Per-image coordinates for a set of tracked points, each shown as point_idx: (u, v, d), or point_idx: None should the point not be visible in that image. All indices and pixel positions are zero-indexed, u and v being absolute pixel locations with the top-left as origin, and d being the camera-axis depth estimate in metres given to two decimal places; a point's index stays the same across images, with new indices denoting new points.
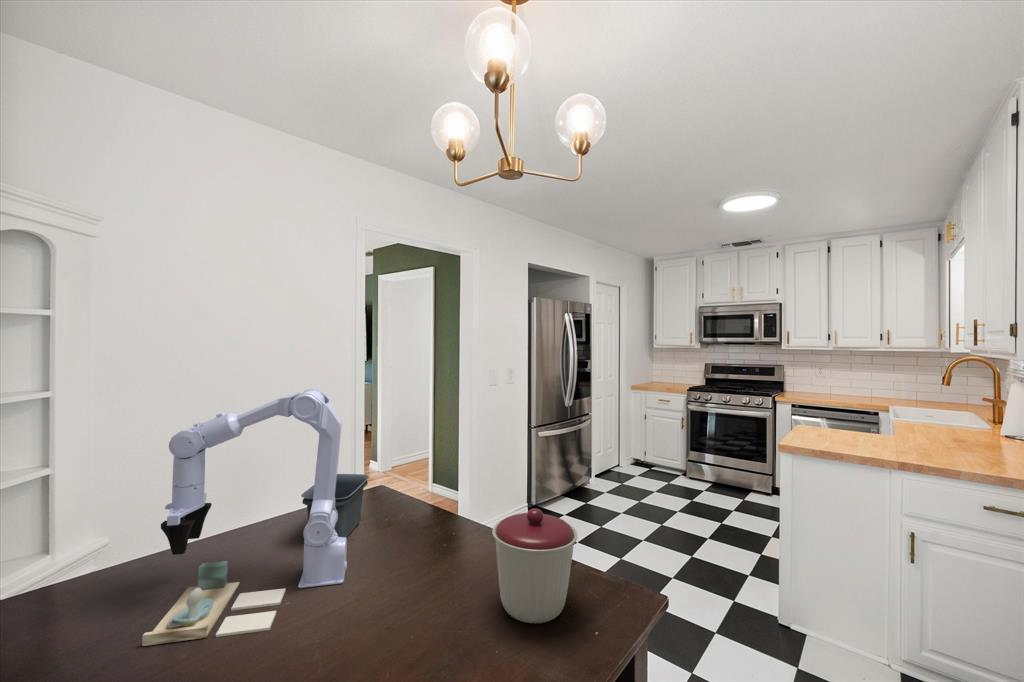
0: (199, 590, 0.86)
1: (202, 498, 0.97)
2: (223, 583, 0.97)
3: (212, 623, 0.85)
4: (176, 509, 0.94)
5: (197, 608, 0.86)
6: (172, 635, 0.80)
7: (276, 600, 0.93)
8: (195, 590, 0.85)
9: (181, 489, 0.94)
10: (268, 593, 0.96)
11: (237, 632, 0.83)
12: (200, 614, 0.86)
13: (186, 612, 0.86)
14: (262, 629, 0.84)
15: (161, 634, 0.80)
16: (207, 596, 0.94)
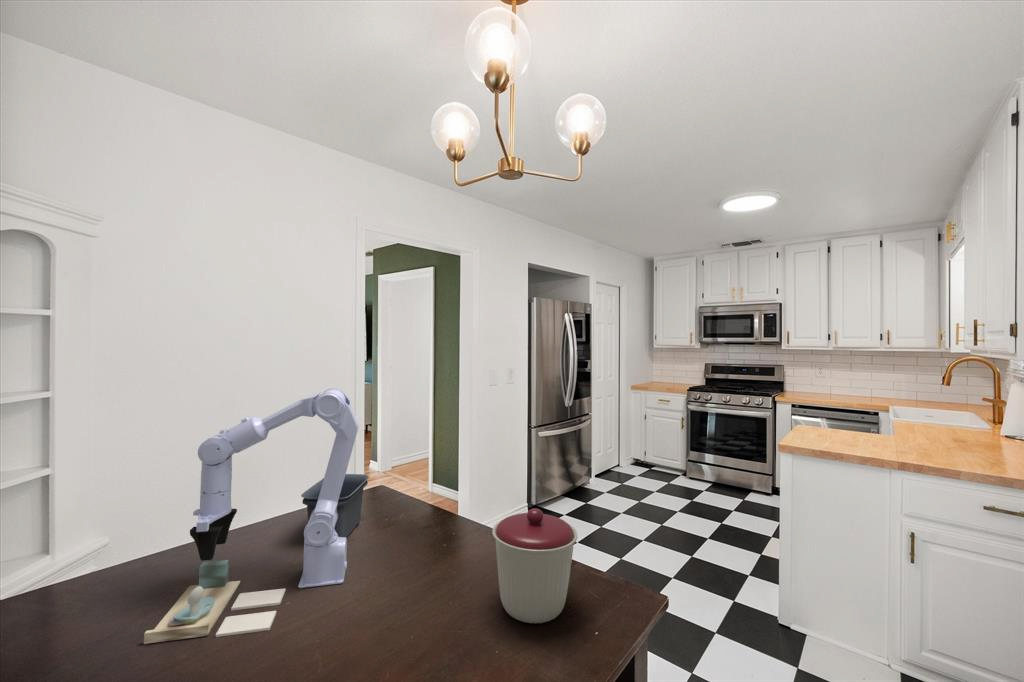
0: (200, 588, 0.86)
1: (229, 504, 0.98)
2: (224, 582, 0.98)
3: (213, 621, 0.86)
4: (204, 515, 0.95)
5: (198, 606, 0.87)
6: (173, 633, 0.81)
7: (276, 600, 0.93)
8: (196, 588, 0.86)
9: (209, 495, 0.95)
10: (268, 593, 0.96)
11: (237, 632, 0.83)
12: (201, 612, 0.87)
13: (187, 610, 0.87)
14: (262, 629, 0.84)
15: (163, 632, 0.80)
16: (208, 595, 0.94)
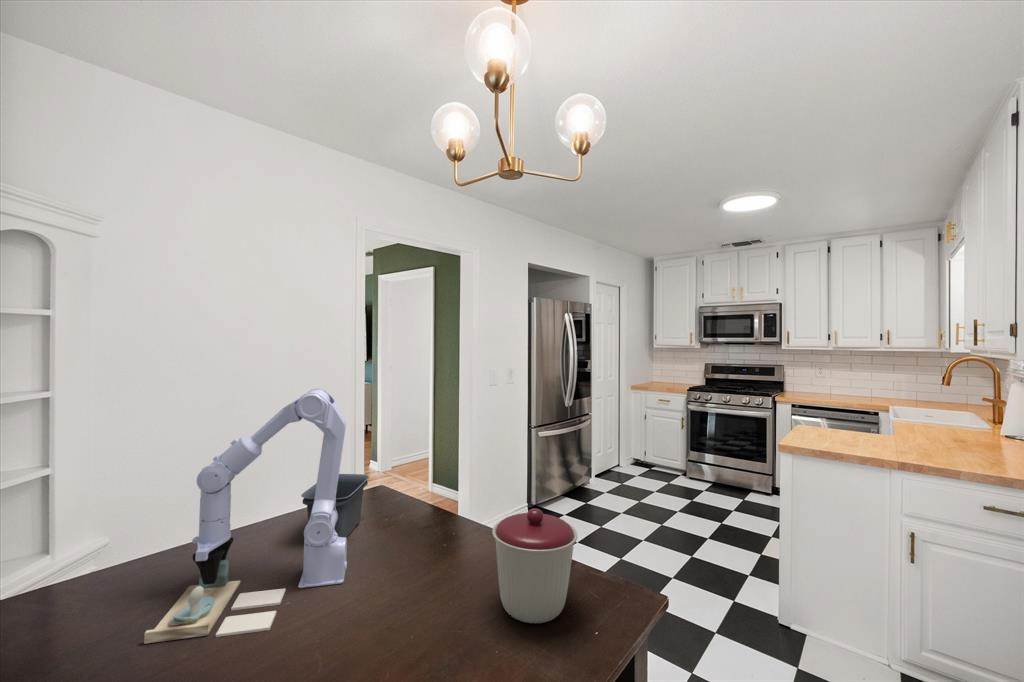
0: (200, 588, 0.86)
1: (228, 531, 0.98)
2: (224, 581, 0.98)
3: (213, 621, 0.86)
4: (203, 543, 0.95)
5: (198, 606, 0.87)
6: (174, 633, 0.81)
7: (276, 600, 0.93)
8: (197, 588, 0.86)
9: (208, 523, 0.95)
10: (268, 593, 0.96)
11: (237, 632, 0.83)
12: (201, 612, 0.87)
13: (187, 610, 0.87)
14: (262, 629, 0.84)
15: (163, 632, 0.80)
16: (208, 594, 0.94)
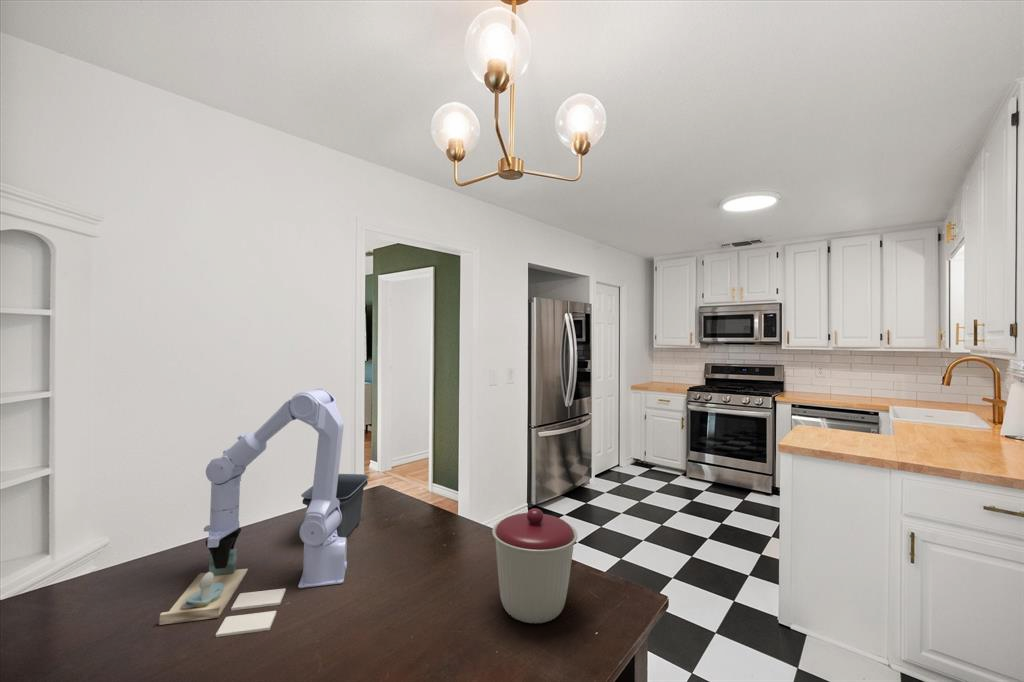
0: (211, 574, 0.92)
1: (237, 520, 1.04)
2: (232, 569, 1.03)
3: (223, 605, 0.91)
4: (214, 531, 1.01)
5: (209, 591, 0.92)
6: (187, 615, 0.86)
7: (276, 600, 0.93)
8: (207, 574, 0.91)
9: (219, 513, 1.01)
10: (268, 593, 0.96)
11: (237, 632, 0.83)
12: (212, 597, 0.92)
13: (199, 595, 0.92)
14: (262, 629, 0.84)
15: (177, 614, 0.86)
16: (218, 581, 1.00)
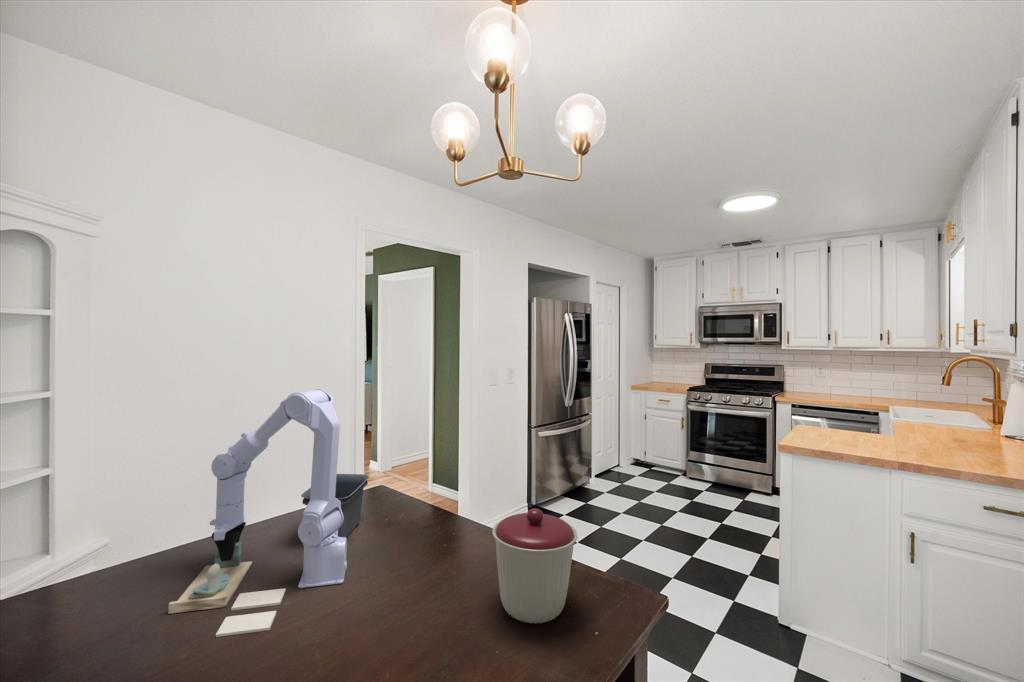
0: (217, 565, 0.95)
1: (242, 515, 1.08)
2: (238, 562, 1.07)
3: (230, 595, 0.94)
4: (220, 525, 1.04)
5: (215, 582, 0.95)
6: (195, 604, 0.90)
7: (276, 600, 0.93)
8: (214, 565, 0.95)
9: (224, 507, 1.04)
10: (268, 593, 0.96)
11: (237, 632, 0.83)
12: (218, 587, 0.96)
13: (205, 585, 0.96)
14: (262, 629, 0.84)
15: (185, 603, 0.89)
16: (223, 573, 1.03)
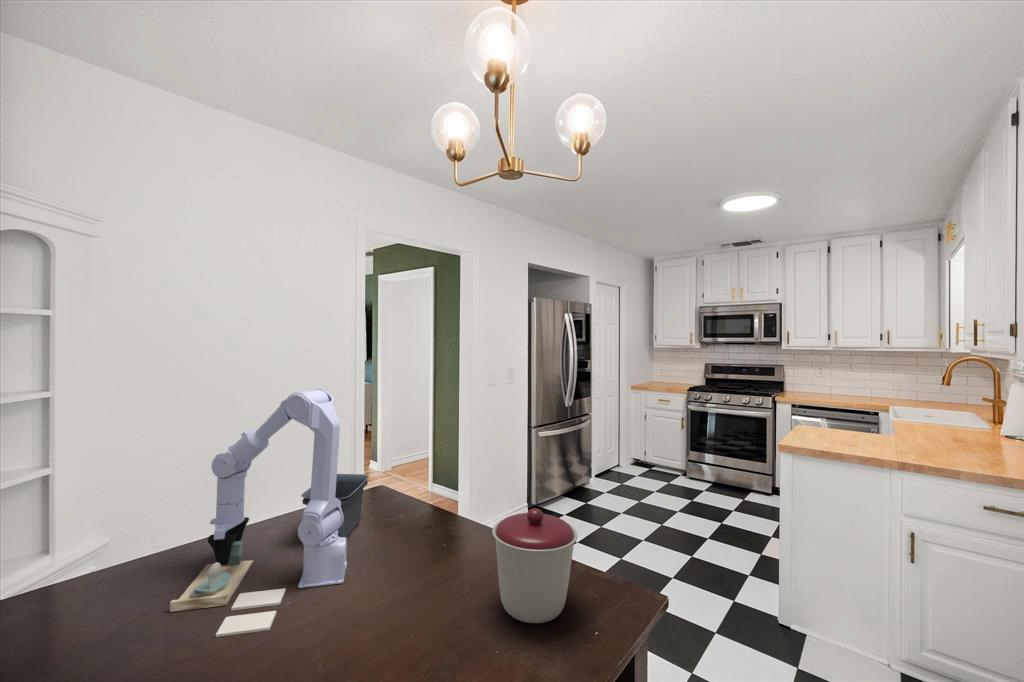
0: (218, 564, 0.96)
1: (242, 514, 1.08)
2: (238, 560, 1.07)
3: (230, 593, 0.95)
4: (220, 524, 1.04)
5: (216, 580, 0.96)
6: (196, 602, 0.90)
7: (276, 600, 0.93)
8: (215, 564, 0.95)
9: (225, 506, 1.04)
10: (268, 593, 0.96)
11: (237, 632, 0.83)
12: (219, 586, 0.96)
13: (206, 584, 0.96)
14: (262, 629, 0.84)
15: (186, 601, 0.90)
16: (224, 571, 1.04)
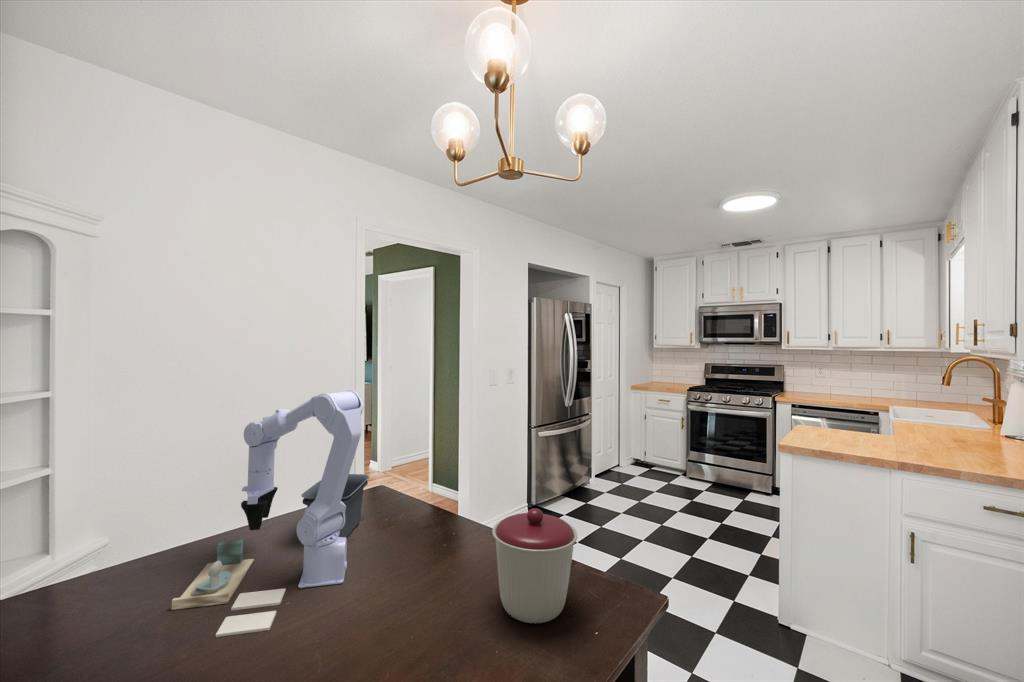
0: (219, 563, 0.97)
1: (272, 482, 1.11)
2: (239, 559, 1.08)
3: (232, 592, 0.96)
4: (252, 491, 1.08)
5: (217, 579, 0.97)
6: (197, 600, 0.91)
7: (276, 600, 0.93)
8: (216, 562, 0.96)
9: (256, 473, 1.08)
10: (268, 593, 0.96)
11: (237, 632, 0.83)
12: (220, 584, 0.97)
13: (208, 582, 0.97)
14: (262, 629, 0.84)
15: (188, 599, 0.90)
16: (225, 570, 1.05)
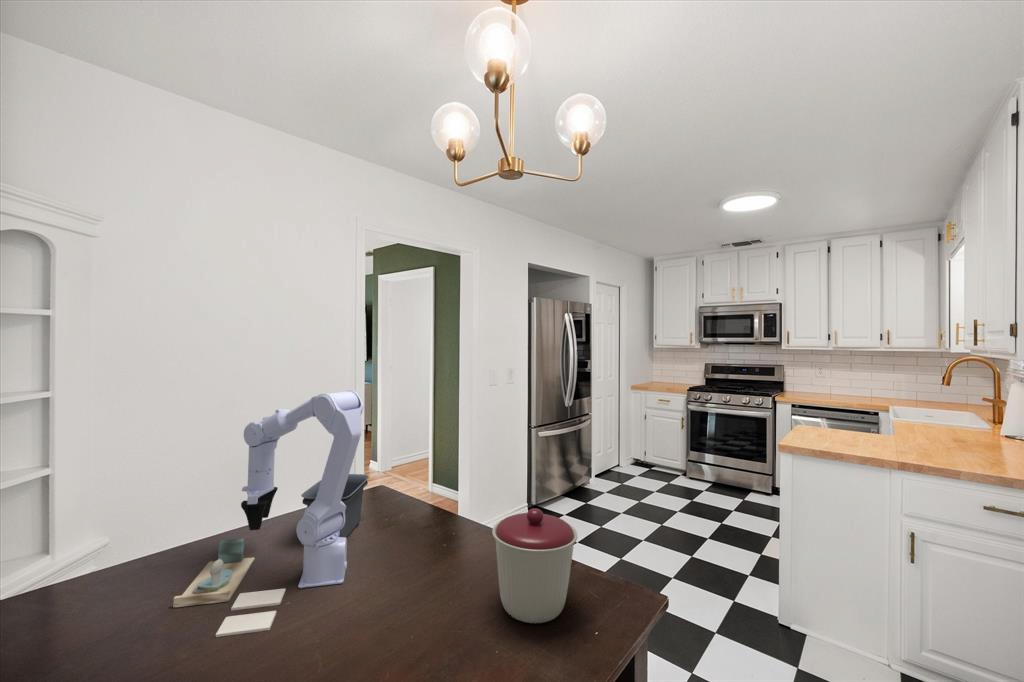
0: (221, 561, 0.97)
1: (272, 482, 1.11)
2: (240, 558, 1.09)
3: (233, 590, 0.97)
4: (252, 491, 1.08)
5: (219, 577, 0.97)
6: (199, 598, 0.92)
7: (276, 600, 0.93)
8: (217, 561, 0.97)
9: (256, 473, 1.08)
10: (268, 593, 0.96)
11: (237, 632, 0.83)
12: (221, 582, 0.98)
13: (209, 580, 0.98)
14: (262, 629, 0.84)
15: (189, 597, 0.91)
16: (227, 568, 1.05)
